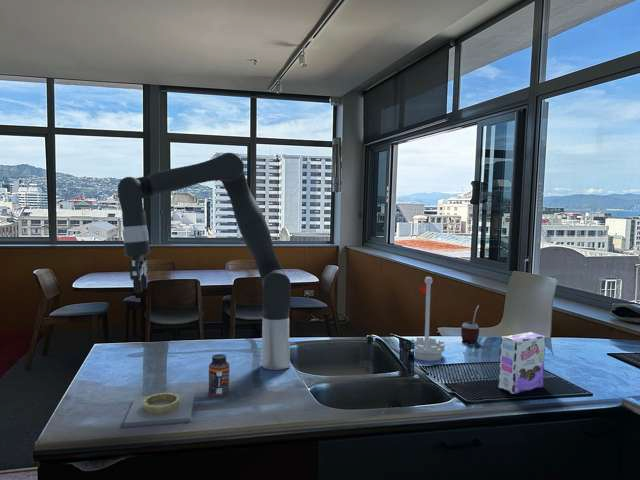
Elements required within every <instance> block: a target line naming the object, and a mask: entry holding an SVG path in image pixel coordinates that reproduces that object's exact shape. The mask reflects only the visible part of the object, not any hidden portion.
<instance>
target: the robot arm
mask: <svg viewBox="0 0 640 480" xmlns="http://www.w3.org/2000/svg"><path fill="white" fill-rule="evenodd" d="M244 169H245V165H244V162H243V159H242V158H241V156H239V155H238V154H236V153H233V152H225V153H222V154H221V155H219V156H216V157H213V158H211V159H209V160H206V161H203V162H198V163H195V164H191V165H185V166H179V167H174V168H169V169H164V170H160V171H156V172H155V171H154V172H152V173H150V174H149V175H146V176H145V175H144V176H139V177H133V176H126V177H124V178H122V179H120V181H119V183H118V184H117V195H118V201H119V204H120V208H121V214H122V215H121V219H122V230H123V231H122V238H123V247H124V248H123V250H124V255H125V257H131V259H130V260H128V263H129V275H130V276H129V278H130V280H131V281H132V284H133V285H132V286H133V293H134V294H139V293H142V291H143V290H146V289H148V283H147V281H148V280H147V277H148V274H149V271H148V262H147V257H146V255H147V256H148V255H150V253H151V250H150V238H149V237H150V235H149V231H148V226H147V214H146V211H145V208H144V206H143V199H146V198H149V197H152V196H155V195H159V194H164V193H165V194H166V193H170V192H174V191H179V190H183V189H185V188H189V187H192V186H195V185H198V184H202V183H203V184H204V183H207V182H215V181H216V182H217V181H221V184H222V185H223V187H224V188H225V192H226V193H227V195H228V197H229V201H230V203H231V207H232V210H233V211H232V212H233V214H234V215H233V216H234V218H235V221H236V224H237V227H238V230H239V231H240V235H241V236H242V239H243V241H244V243H245V245H246V248H247V249H248V251H249V253H250V254H251V256H252V258H253V259H254V261H255V264H256V267H257V270H258V273H259V278H260V280H261V286H262V289H263V290H262V292H263V293H262V295H263V296H262V311H261V312H262V314H261V315H262V317H261V319H262V321H261V323H262V328H261V329H262V332H261V335H262V337H261V340H262V341H261V347H262V348H261V354H262V355H261V356H262V357H261V367H262V368H263V369H265V370H270V371H279V370H284V369H289V368H291V339H290V311H291V299H292V298H291V295H292V289H291V287H292V284H291V280H290V278H289V276H288V275H287V274H286V273H285V271H284V269H283V268H282V266H281V263H280V261H279V260H278V257H277V255H276V253H275V249H274V244H273V239H272V235H271V232H270V230H269V229H270V228H269V227H268V223H267V222H266V219H265V216H264V214H263V212H262V210H261V208H260V205H258V203H257V201H256V199H255V197H254V195H253V194H252V192H251V189H250V186H249V185H248V181H247V178H246V175H245V170H244Z"/></svg>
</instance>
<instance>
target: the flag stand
mask: <svg viewBox="0 0 640 480" xmlns="http://www.w3.org/2000/svg"><path fill="white" fill-rule="evenodd" d="M424 283H425V284H424V285H422V286H420V287H417V289H418V290H419V291H421V293H422V294H424V295H425V314H424V315H425V317H424V318H425V319H424V321H425V322H424V323H425V324H424V336H419V337H418V336H416V340H415V338H410V339H409V340H410V341H412V342H413V343H414V345H415V358H414V359H416V360H421V361H426V362H427V361H430V362H433V361H439V360H441V359H442V355H443V354H442V353H443V352H445V348H446V347H445V346H446V345H445V342H444V340H441V339H440V340H438V341H437V340H436V339H437V338H435V337H430V316H431V313H430V311H431V288H432V287H431V285H432V283H433V278H432V277H431V276H426V277H425V279H424Z"/></svg>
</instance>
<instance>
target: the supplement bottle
mask: <svg viewBox="0 0 640 480" xmlns="http://www.w3.org/2000/svg"><path fill="white" fill-rule="evenodd" d="M229 393H230V363H229V362H228V361H227V355H226V354H222V353H217V354H213V355H212V356H211V362H210V363H209V365H208V395H210V396H211V397H215V398H221V397H225V396H227V395H228V394H229Z"/></svg>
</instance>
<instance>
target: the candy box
mask: <svg viewBox="0 0 640 480" xmlns="http://www.w3.org/2000/svg"><path fill="white" fill-rule="evenodd" d="M499 347H500V348H499V350H500V353H499V366H498V367H499V368H498V371H499V372H498V388H499V389H501V390H504V391H506V392H507V393H510V394H512V395H514V394H520V393H524V392H527V391H528V392H529V391H532V390H536V389H539V388H543V387H544V376H545V355H546V336H545V335H542V334H539V333H535V332H531V331H529V332H524V333H516V334H512V335H504V336H500V346H499Z"/></svg>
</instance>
